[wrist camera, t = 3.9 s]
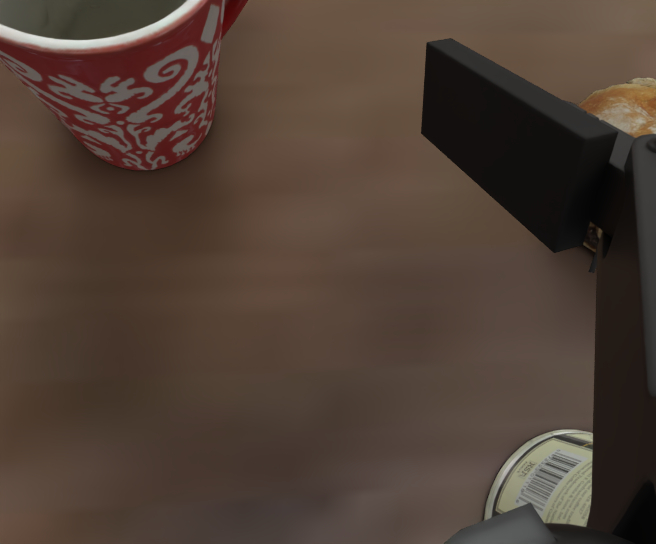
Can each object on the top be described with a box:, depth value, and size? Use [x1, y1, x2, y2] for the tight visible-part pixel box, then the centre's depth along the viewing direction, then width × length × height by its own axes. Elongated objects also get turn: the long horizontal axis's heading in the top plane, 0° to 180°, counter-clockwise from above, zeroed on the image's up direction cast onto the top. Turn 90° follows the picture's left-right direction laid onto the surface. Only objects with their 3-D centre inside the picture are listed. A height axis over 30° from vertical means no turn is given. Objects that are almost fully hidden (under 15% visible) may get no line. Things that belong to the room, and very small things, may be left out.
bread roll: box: [578, 78, 656, 252], centre depth 30 cm, size 10×10×8 cm
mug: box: [0, 0, 248, 170], centre depth 21 cm, size 13×9×14 cm
